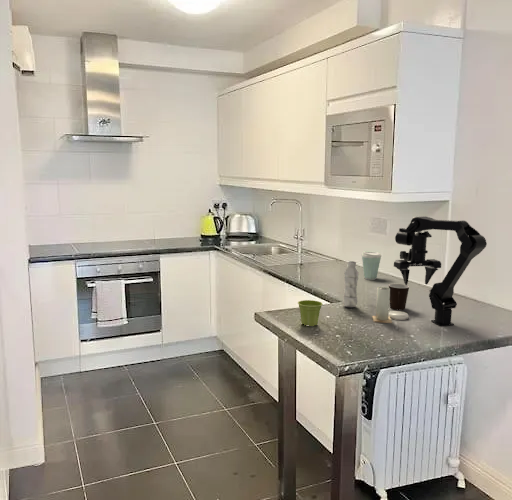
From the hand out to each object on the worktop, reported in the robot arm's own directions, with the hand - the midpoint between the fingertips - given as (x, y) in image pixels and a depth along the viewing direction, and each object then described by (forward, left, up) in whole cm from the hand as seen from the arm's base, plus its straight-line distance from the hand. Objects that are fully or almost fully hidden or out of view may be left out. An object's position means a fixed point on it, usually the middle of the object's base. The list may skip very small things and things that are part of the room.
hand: (416, 284), depth 214 cm
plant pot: (-6, +48, -13) cm, 50 cm away
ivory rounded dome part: (-2, +8, -13) cm, 16 cm away
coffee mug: (+10, +3, -13) cm, 17 cm away
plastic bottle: (+16, +22, -13) cm, 30 cm away
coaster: (-5, +17, -13) cm, 22 cm away
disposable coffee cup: (+70, -13, -13) cm, 72 cm away
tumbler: (-5, +17, -12) cm, 22 cm away
